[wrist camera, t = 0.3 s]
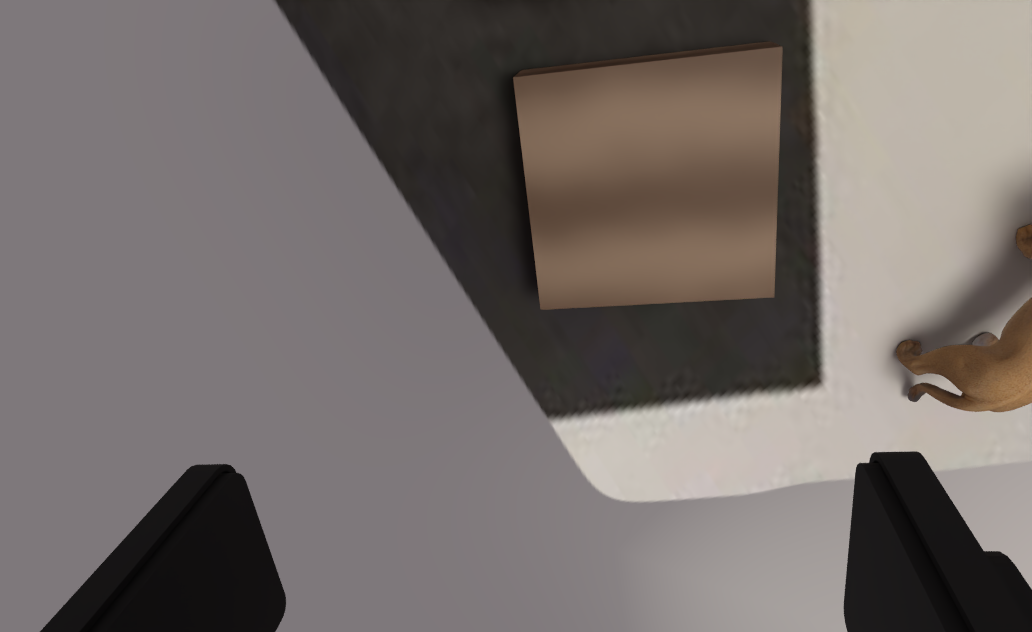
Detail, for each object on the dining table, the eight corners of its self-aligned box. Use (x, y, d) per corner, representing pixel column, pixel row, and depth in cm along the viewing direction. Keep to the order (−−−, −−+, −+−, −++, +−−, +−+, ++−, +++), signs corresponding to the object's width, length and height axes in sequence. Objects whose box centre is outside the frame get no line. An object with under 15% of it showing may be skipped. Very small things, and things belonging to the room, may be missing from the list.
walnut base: (521, 70, 35) (513, 77, 33) (769, 41, 33) (782, 46, 31) (546, 288, 40) (540, 309, 38) (763, 275, 38) (774, 297, 36)
